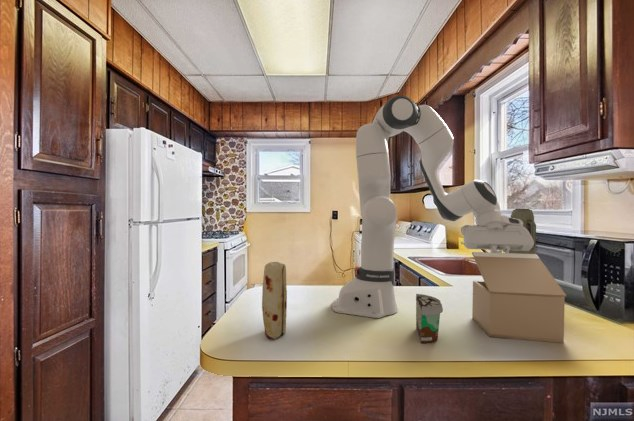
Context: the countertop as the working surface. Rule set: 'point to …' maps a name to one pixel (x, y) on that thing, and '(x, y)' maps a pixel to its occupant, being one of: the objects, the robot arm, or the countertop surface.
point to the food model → (274, 299)
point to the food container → (427, 318)
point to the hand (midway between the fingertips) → (503, 259)
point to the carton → (518, 315)
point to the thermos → (526, 226)
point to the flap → (516, 274)
